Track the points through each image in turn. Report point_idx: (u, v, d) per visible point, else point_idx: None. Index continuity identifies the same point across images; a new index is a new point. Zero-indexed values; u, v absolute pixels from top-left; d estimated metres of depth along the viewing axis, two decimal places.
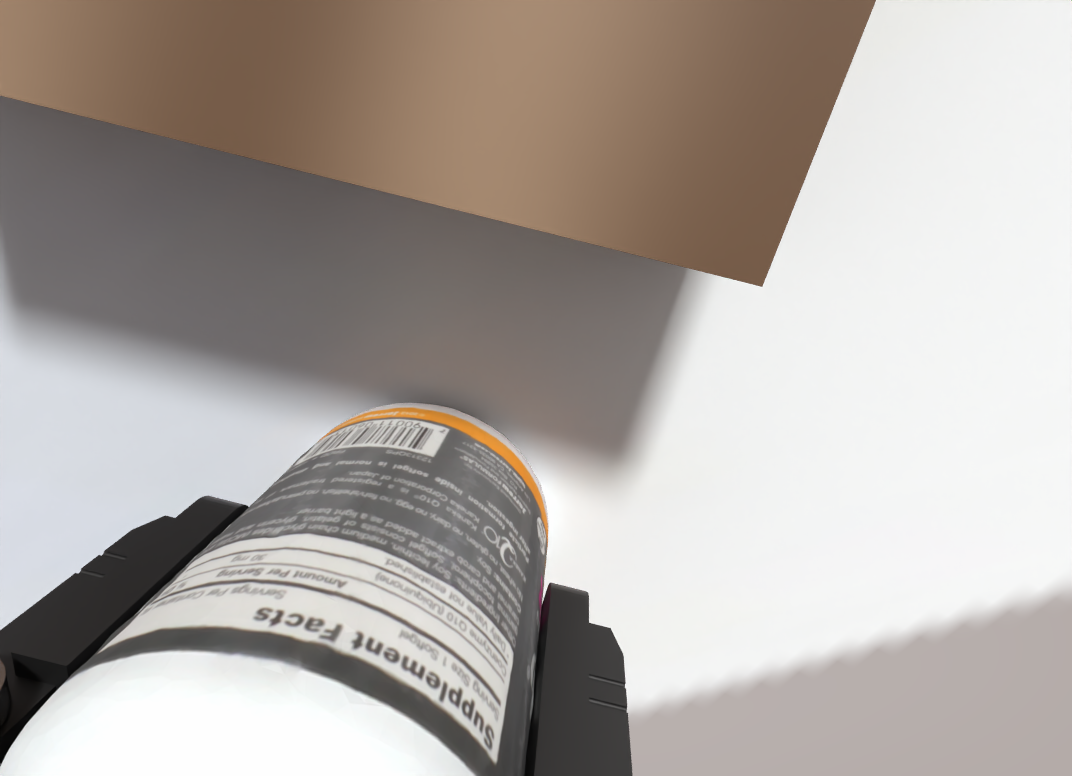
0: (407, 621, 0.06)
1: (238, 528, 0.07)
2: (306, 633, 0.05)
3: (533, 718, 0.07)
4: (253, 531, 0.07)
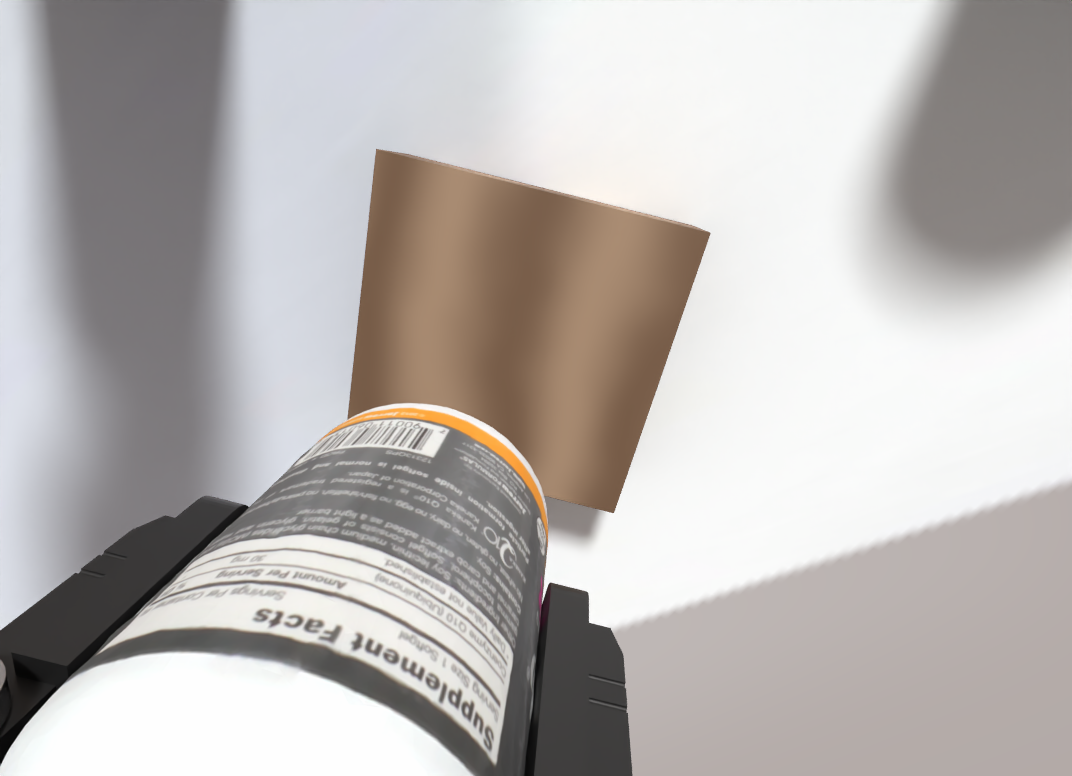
0: (407, 621, 0.06)
1: (238, 529, 0.07)
2: (305, 635, 0.05)
3: (533, 718, 0.07)
4: (253, 531, 0.07)
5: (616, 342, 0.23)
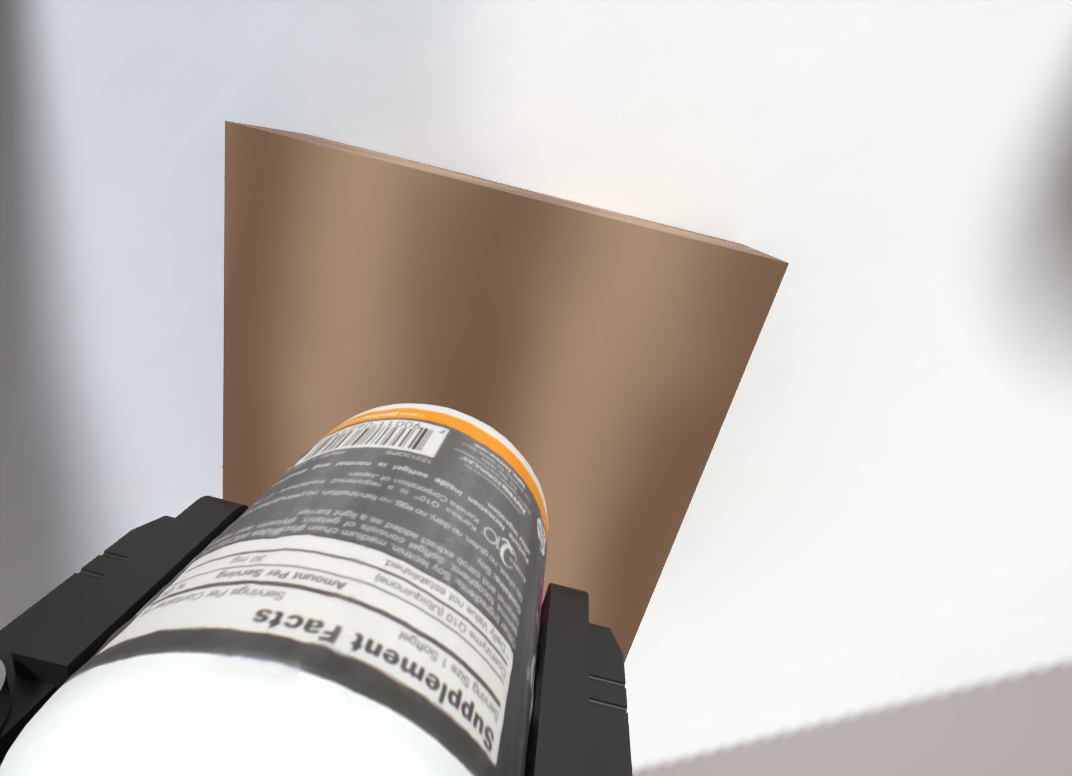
0: (406, 622, 0.06)
1: (238, 529, 0.07)
2: (305, 635, 0.05)
3: (533, 718, 0.07)
4: (252, 531, 0.07)
5: (627, 433, 0.15)
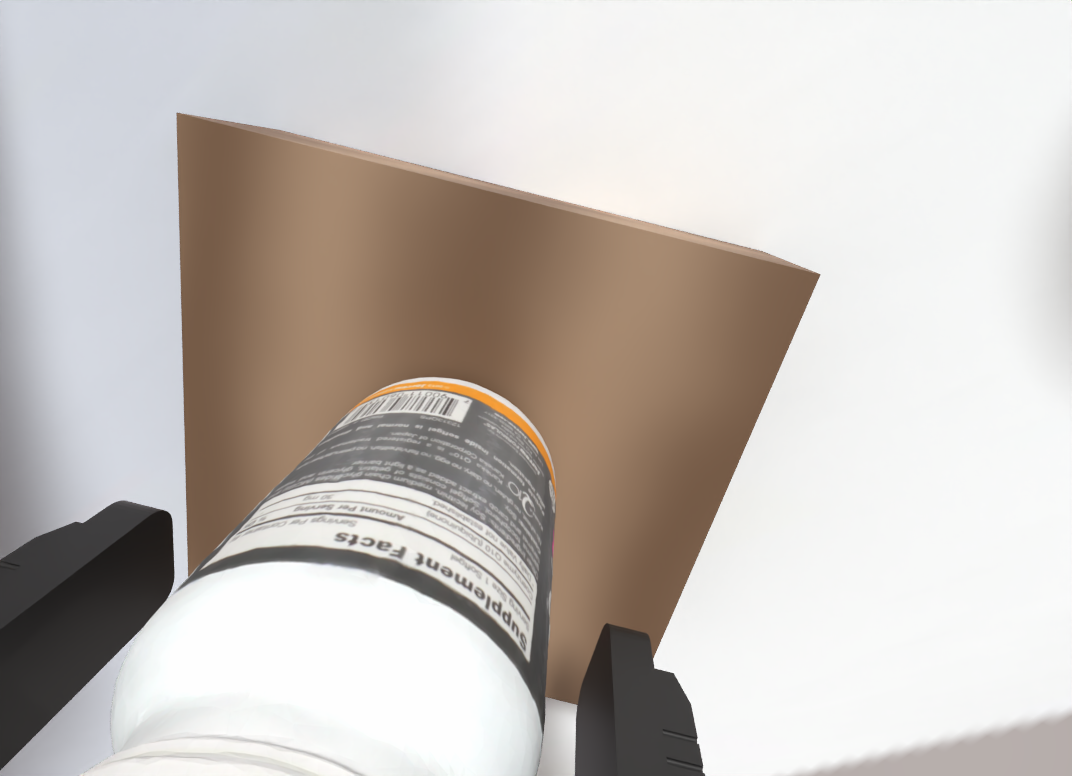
0: (455, 548, 0.07)
1: (299, 477, 0.09)
2: (379, 552, 0.07)
3: None
4: (316, 478, 0.08)
5: (635, 463, 0.13)
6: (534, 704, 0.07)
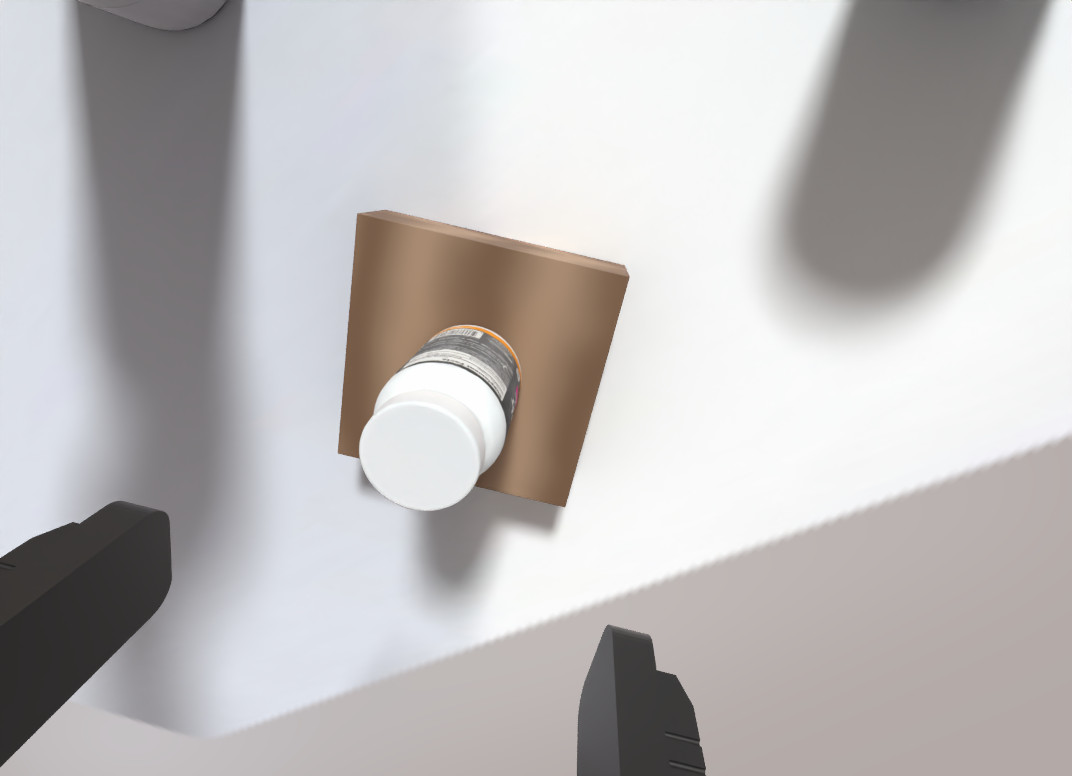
0: (478, 367, 0.23)
1: (422, 351, 0.24)
2: (456, 362, 0.22)
3: None
4: (429, 350, 0.24)
5: (558, 365, 0.28)
6: (503, 412, 0.22)
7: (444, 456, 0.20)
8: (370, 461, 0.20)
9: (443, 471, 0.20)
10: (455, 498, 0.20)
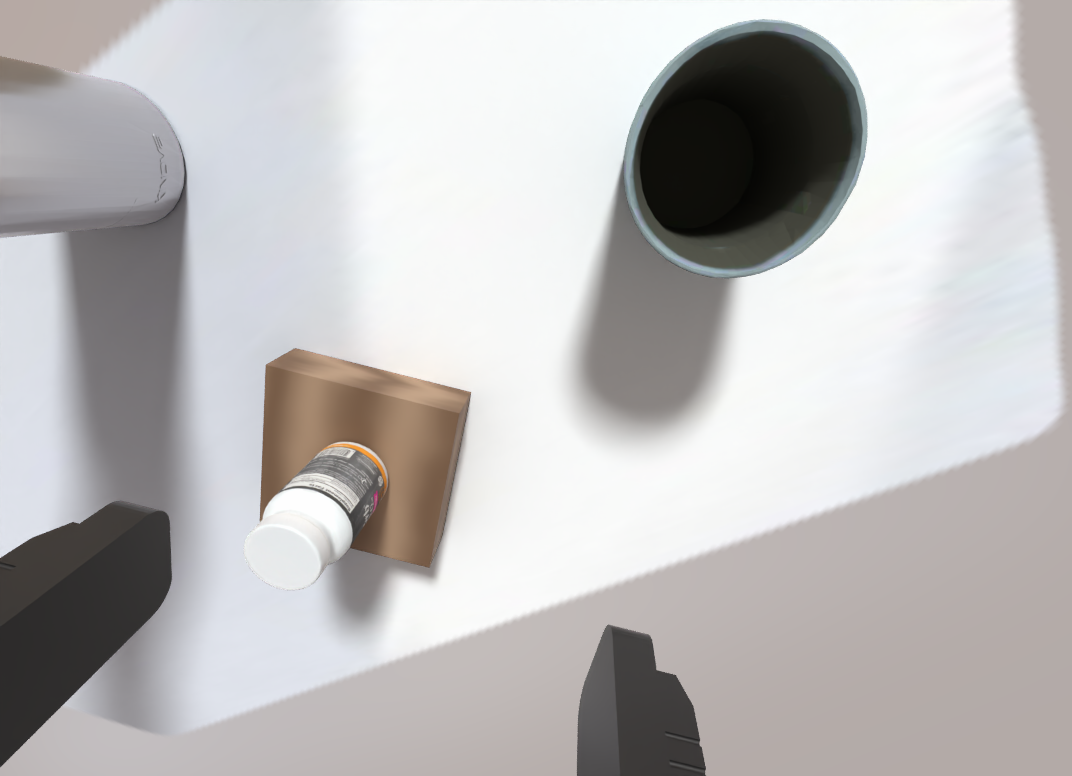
0: (336, 488, 0.33)
1: (302, 472, 0.35)
2: (317, 488, 0.33)
3: None
4: (306, 472, 0.34)
5: (415, 470, 0.39)
6: (349, 521, 0.33)
7: (297, 557, 0.30)
8: (251, 558, 0.31)
9: (298, 566, 0.30)
10: (307, 583, 0.31)
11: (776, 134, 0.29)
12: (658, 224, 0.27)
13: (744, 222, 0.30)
